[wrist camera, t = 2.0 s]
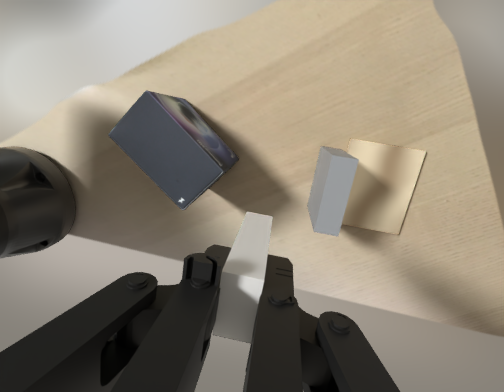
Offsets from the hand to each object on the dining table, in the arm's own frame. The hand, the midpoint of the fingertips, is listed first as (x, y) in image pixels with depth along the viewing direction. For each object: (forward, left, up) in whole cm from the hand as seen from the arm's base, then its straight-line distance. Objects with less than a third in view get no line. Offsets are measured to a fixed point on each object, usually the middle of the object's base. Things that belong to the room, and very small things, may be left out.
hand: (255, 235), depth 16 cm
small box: (-10, +2, -22) cm, 24 cm away
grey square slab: (+7, 0, -22) cm, 23 cm away
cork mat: (+13, 0, -22) cm, 25 cm away
